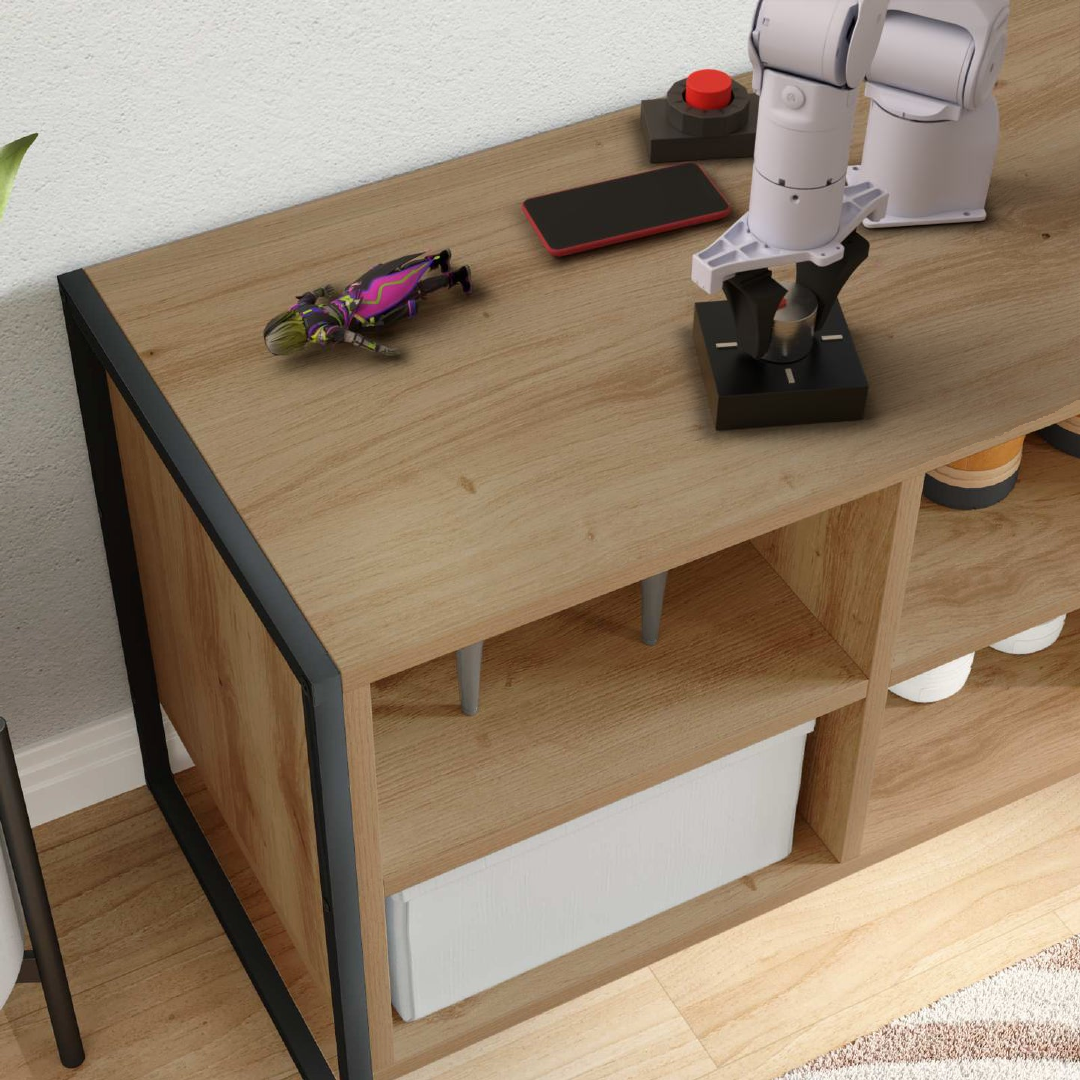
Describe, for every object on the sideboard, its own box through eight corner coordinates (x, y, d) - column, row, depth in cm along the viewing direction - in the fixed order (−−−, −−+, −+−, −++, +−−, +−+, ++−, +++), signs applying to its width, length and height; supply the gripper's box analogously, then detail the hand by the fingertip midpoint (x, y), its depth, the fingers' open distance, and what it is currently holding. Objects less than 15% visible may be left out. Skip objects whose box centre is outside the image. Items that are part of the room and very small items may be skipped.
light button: (726, 86, 128) (727, 67, 127) (734, 110, 126) (735, 90, 124) (682, 89, 128) (683, 70, 127) (689, 113, 125) (690, 93, 124)
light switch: (758, 114, 132) (762, 70, 129) (772, 157, 127) (777, 113, 124) (639, 121, 131) (641, 78, 128) (650, 165, 127) (652, 121, 124)
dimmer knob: (784, 313, 109) (789, 269, 106) (825, 347, 106) (832, 302, 103) (733, 336, 107) (737, 291, 104) (774, 371, 104) (779, 326, 102)
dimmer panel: (830, 326, 112) (836, 290, 110) (863, 419, 106) (869, 383, 103) (692, 335, 112) (694, 300, 110) (715, 430, 105) (718, 394, 103)
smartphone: (518, 200, 122) (695, 159, 125) (518, 209, 123) (695, 169, 126) (551, 253, 117) (734, 209, 121) (551, 263, 118) (733, 219, 121)
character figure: (425, 256, 120) (236, 328, 113) (423, 213, 117) (230, 285, 110) (494, 318, 114) (301, 398, 108) (494, 275, 112) (296, 354, 105)
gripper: (748, 235, 91) (731, 410, 101) (933, 155, 97) (900, 328, 107) (675, 178, 95) (665, 352, 105) (856, 104, 101) (831, 276, 111)
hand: (779, 336), depth 106 cm, fingers closed on dimmer knob, 4 cm apart
